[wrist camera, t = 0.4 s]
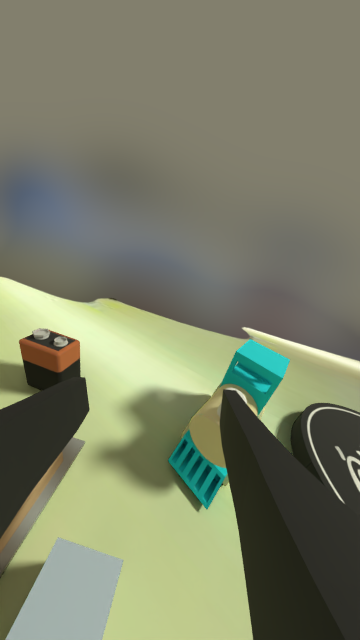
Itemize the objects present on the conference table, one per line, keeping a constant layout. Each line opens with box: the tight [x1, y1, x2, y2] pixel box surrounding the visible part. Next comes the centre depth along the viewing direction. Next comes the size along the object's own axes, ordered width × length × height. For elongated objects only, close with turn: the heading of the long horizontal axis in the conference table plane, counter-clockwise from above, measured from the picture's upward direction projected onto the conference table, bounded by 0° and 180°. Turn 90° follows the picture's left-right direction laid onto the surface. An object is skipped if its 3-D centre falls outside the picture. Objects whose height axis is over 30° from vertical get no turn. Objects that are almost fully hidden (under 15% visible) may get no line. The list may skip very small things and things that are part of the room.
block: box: [5, 537, 123, 640], centre depth 11 cm, size 5×5×6 cm
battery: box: [19, 328, 80, 390], centre depth 27 cm, size 4×7×10 cm, turn 77°
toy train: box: [168, 339, 290, 509], centre depth 24 cm, size 8×17×15 cm, turn 139°
